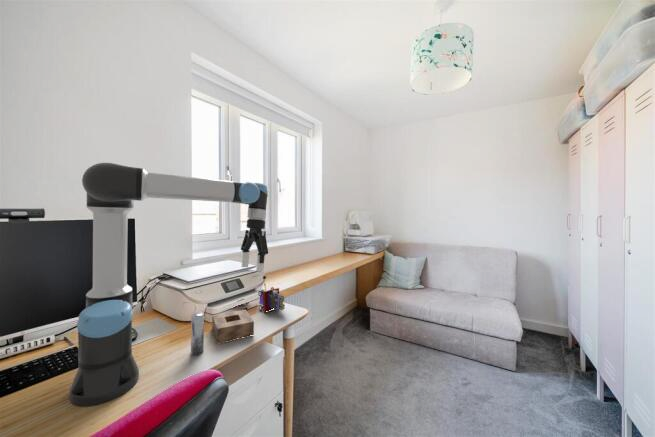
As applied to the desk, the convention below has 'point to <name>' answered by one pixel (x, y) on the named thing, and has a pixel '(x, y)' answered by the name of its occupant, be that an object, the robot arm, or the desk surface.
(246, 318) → the walnut socket block
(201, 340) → the steel pin
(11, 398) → the desk surface
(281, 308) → the robot toy
